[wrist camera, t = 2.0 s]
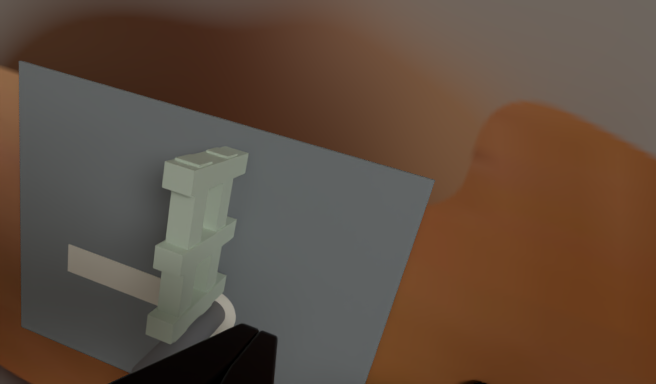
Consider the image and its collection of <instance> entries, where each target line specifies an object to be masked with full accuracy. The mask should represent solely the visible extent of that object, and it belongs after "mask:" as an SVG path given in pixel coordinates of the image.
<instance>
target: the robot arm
mask: <svg viewBox="0 0 656 384" xmlns="http://www.w3.org/2000/svg"><path fill="white" fill-rule="evenodd" d="M277 344H278V337H277V336H276V335H274V334H271V333H268V332H266V331H263V330H262V331H259V330H258V329H257V328H255V327H253V326H250V325H248V324H245V323H240V324H238V325H236V326H233V327H231V328H229V329H227V330H225V331H222V332H220V333H218V334H216V335H214V336H211V337H209V338H207V339H205V340H203V341H201V342H198V343H196V344H194V345H192V346H190V347H187V348H185V349H183V350H181V351H179V352H176V353H174V354H172V355H170V356H168V357H165V358H163V359H161V360H159V361H157V362H155V363H152V364H150V365H148V366H146V367H144V368H141V369H139V370H137V371H135V372H133V373H130V374H128V375H126V376H124V377H122V378H120V379H117V380H115V381H113V382H111V383H109V384H274V378H275V367H276V355H277ZM475 384H485V383H481V382H480V383H475Z"/></svg>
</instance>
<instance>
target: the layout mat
mask: <svg viewBox="0 0 656 384" xmlns="http://www.w3.org/2000/svg"><path fill="white" fill-rule="evenodd" d="M19 119H20V225H21V327H23V328H25V329H28V330H30V331H33V332H35V333H37V334H40V335H42V336H44V337H47V338H49V339H51V340H54V341H56V342H58V343H61V344H63V345H65V346H68V347H70V348H72V349H75V350H77V351H80V352H82V353H84V354H87V355H89V356H91V357H94V358H96V359H98V360H101V361H103V362H105V363H108V364H110V365H112V366H115V367H117V368H119V369H122V370H124V371H126V372H129V373H131V370H132V368H133V367H134V366H135V365H136V364H137V363H138V362H139V361H140V360H141V359H142V358H143V357H144V356H146V355H147V354H148V353H149V352H150V351H151V350H152V349H153V348H154V347H155V346H156V345H157V344H158V343H159V342H160V341H161V340H158V339H156V338H153V337H151V336H148V335H146V325H147V316H148V314H149V313H150V312H151V311H153V310H154V309H155V308H156V307H157V306H158V298H159V290H160V282H161V273H162V271H160V270H157V269H154V268H153V263H154V254H155V245H157V244H159V243H161V242H163V241H164V240H166V232H167V224H168V215H169V207H170V199H171V190H168V189H165V188H162V182H163V174H164V165H165V161H168V160H172V159H175V158H176V157H180V156H184V155H188V154H191V155H192V154H196V153H200V152H204V151H206V150H208V149H212V148H216V147H218V148H220V147H224V146H227V147H230V148H233V149H237V150H240V151H243V152H247V153H249V154H248V160H247V166H246V171H245V174H243V175H240V176H238V177H236V178H233V184H232V190H231V195H230V201H229V207H228V213H227V216H228V217H231V218H234V219H237V221H236V226H235V232H234V237H233V238H232V239H231V240H229V241H228V242H227V243H225V244H224V245H223V246H222V248H221V254H220V259H219V265H218V271H217V272H219V273H222V274H224V275H227V276H226V281H225V287H224V292H223V293H222V294H221V295H220V296H219V297H218V298H217V299H216V300H215V301H216V302H218V303H219V304H220V305H221V306H222V307H223V309H224V311H225V319H224V321H223V323H222V324H221V325H220V326H219V327H218V328H217V330H216V331H215V332H214V333H213V334H212V335H211V336H214V335H216V334H218V333H220V332H222V331H225V330H227V329H229V328H231V327H233V326H236V325H238V324H240V323H245V324H248V325H250V326H253V327H255V328H257V329H258V330H259V331H262V330H263V331H266V332H268V333H271V334H274V335H276V336H277V337H278V344H277V355H276V367H275V378H274V384H365V382H366V380H367V377H368V374H369V371H370V368H371V365H372V362H373V359H374V356H375V353H376V350H377V348H378V345H379V342H380V339H381V336H382V333H383V330H384V327H385V324H386V321H387V319H388V316H389V313H390V310H391V307H392V304H393V301H394V298H395V295H396V292H397V289H398V287H399V284H400V281H401V278H402V275H403V272H404V269H405V266H406V263H407V260H408V257H409V255H410V252H411V249H412V246H413V243H414V240H415V237H416V234H417V231H418V228H419V225H420V223H421V220H422V217H423V214H424V211H425V208H426V205H427V202H428V199H429V196H430V194H431V191H432V188H433V185H434V182H435V180H433V179H429V178H426V177H423V176H419V175H416V174H412V173H409V172H406V171H402V170H398V169H395V168H392V167H388V166H385V165H381V164H378V163H374V162H370V161H367V160H364V159H360V158H357V157H354V156H350V155H346V154H343V153H340V152H336V151H333V150H329V149H326V148H322V147H319V146H315V145H312V144H308V143H305V142H301V141H298V140H294V139H291V138H288V137H284V136H281V135H277V134H274V133H270V132H267V131H263V130H260V129H256V128H253V127H250V126H246V125H243V124H239V123H236V122H232V121H229V120H225V119H222V118H218V117H215V116H211V115H207V114H204V113H201V112H197V111H194V110H190V109H187V108H183V107H180V106H177V105H173V104H170V103H166V102H163V101H159V100H156V99H152V98H149V97H145V96H142V95H138V94H135V93H132V92H128V91H125V90H121V89H117V88H114V87H110V86H107V85H104V84H100V83H97V82H93V81H90V80H87V79H83V78H80V77H76V76H72V75H69V74H66V73H62V72H59V71H55V70H52V69H48V68H45V67H41V66H38V65H35V64H31V63H28V62H24V61H19ZM211 336H210V337H211Z"/></svg>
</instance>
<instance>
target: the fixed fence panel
mask: <svg viewBox="0 0 656 384" xmlns="http://www.w3.org/2000/svg"><path fill="white" fill-rule="evenodd" d="M224 319H225V311H224V309H223V307H222V306H221V305H220V304H219V303H218V302H216V301H214V302H213V303H212V306H211V307H210V308H209V309H208V310H207V311H206V312H205V313H204V314H203V315H200V316H199V317H198V318H197V319H196V320H195V321H194V322H193V323H192V324H191V325H190V326H189V327H188V328H187V331H186V332H185V333H184V334H183V335H182V336H181V337H180V338H179V339H178V340H177V341H176V342H175V343H174V342H173V343H172V344H171V345H170V344H168V343H166V342H163V341H160V342H159V343H158V344H157V345H156V346H155V347H154V348H153V349H152V350H151V351H150V352H149V353H148V354H147V355H146V356H144V357H143V358H142V359H141V360H140V361H139V362H138V363H137V364H136V365H135V366H134V367H133V368H132V370H131V373H133V372H135V371H137V370H139V369H141V368H144V367H146V366H148V365H150V364H152V363H155V362H157V361H159V360H161V359H163V358H165V357H168V356H170V355H172V354H174V353H176V352H179V351H181V350H183V349H185V348H187V347H190V346H192V345H194V344H196V343H198V342H201V341H203V340H205V339H207V338H209V337H210V336H211V335H212V334H213V333H214V332H215V331H216V330H217V328H218V327H219V326H220V325H221V324H222V323H223V321H224Z"/></svg>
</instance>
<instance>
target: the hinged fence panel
mask: <svg viewBox="0 0 656 384" xmlns="http://www.w3.org/2000/svg"><path fill="white" fill-rule="evenodd" d="M248 154H249V153H247V152H243V151H240V150H237V149H233V148H230V147H227V146H224V147H220V148H218V147H216V148H212V149H208V150H206V151H204V152H200V153H196V154H192V155H191V154H188V155H184V156H180V157H176V158H175V159H172V160H168V161H165V165H164V174H163V182H162V188H165V189H168V190H171V199H170V207H169V215H168V224H167V232H166V240H164V241H163V242H161V243H159V244H157V245H155V254H154V263H153V268H154V269H157V270H160V271H162V273H161V282H160V290H159V298H158V306H157V307H156V308H155V309H154V310H153V311H151V312H150V313H149V314H148V316H147V325H146V335H148V336H151V337H153V338H156V339H158V340H161V341H163V342H166V343H168V344H170V345H171V344H172V343H173V342H174V343H175V342H176V341H177V340H178V339H179V338H180V337H181V336H182V335H183V334H184V333H185V332H186V331H187V328H188V327H189V326H190V325H191V324H192V323H193V322H194V321H195V320H196V319H197V318H198V317H199V316H200V315H203V314H204V313H205V312H206V311H207V310H208V309H209V308H210V307H211V306H212V303H213V302H214V301H215V300H216V299H217V298H218V297H219V296H220V295H221V294H222V293H223V292H224V287H225V281H226V276H227V275H224V274H222V273H219V272H217V271H218V265H219V259H220V254H221V248H222V246H223V245H224V244H225V243H227V242H228V241H229V240H231V239H232V238H233V237H234V232H235V226H236V221H237V219H234V218H231V217H228V216H227V213H228V207H229V201H230V195H231V190H232V184H233V178H236V177H238V176H240V175H243V174H245V171H246V166H247V160H248Z"/></svg>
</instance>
